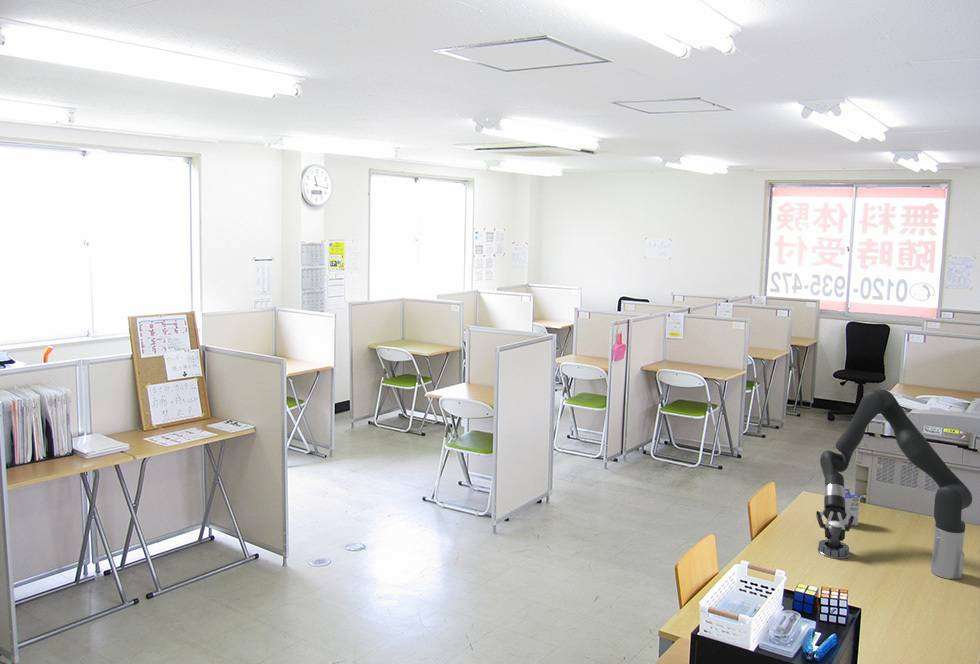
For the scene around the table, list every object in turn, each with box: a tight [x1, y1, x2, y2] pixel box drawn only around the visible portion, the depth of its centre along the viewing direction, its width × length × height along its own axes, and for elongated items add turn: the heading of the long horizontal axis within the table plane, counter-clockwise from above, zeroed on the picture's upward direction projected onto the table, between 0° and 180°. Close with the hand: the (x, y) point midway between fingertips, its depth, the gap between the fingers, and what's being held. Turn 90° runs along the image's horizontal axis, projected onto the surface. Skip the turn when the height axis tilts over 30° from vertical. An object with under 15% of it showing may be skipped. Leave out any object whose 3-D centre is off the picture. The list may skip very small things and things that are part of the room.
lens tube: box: [827, 521, 842, 549], centre depth 297 cm, size 5×5×10 cm
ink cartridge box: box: [843, 488, 861, 526], centre depth 328 cm, size 10×6×14 cm, turn 89°
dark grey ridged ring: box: [817, 539, 850, 560], centre depth 298 cm, size 11×11×3 cm
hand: (834, 539), depth 296 cm, fingers closed on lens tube, 4 cm apart
